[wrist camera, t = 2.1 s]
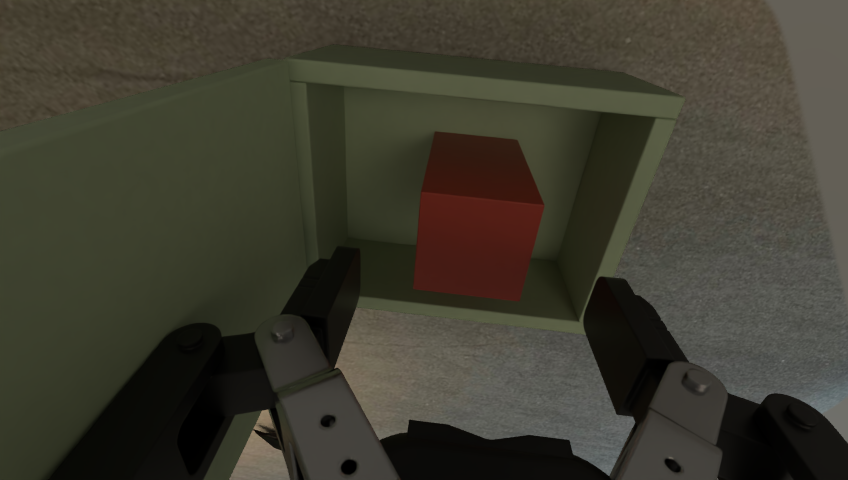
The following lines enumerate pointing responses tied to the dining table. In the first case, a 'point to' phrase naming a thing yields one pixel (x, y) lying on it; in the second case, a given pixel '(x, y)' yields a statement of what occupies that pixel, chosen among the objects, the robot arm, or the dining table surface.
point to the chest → (482, 116)
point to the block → (476, 218)
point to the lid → (139, 247)
